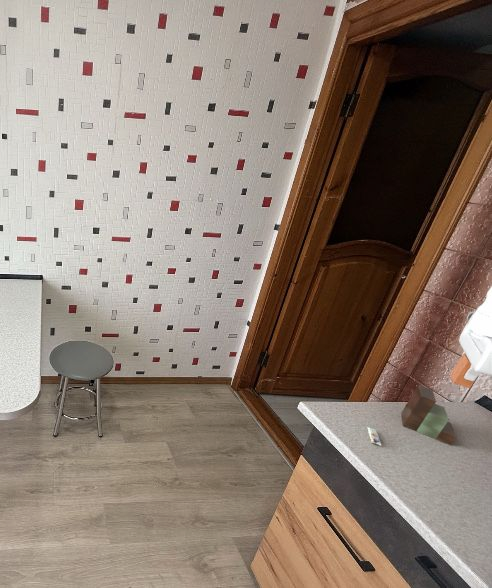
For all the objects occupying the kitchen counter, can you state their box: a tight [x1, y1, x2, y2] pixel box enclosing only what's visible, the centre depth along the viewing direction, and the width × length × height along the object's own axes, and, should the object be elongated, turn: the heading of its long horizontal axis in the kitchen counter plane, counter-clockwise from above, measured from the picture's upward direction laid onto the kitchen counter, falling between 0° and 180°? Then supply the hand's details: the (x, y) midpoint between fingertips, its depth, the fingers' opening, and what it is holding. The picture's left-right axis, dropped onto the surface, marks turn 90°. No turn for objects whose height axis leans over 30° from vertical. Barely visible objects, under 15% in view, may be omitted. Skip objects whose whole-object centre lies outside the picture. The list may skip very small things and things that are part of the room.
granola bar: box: [366, 426, 382, 447], centre depth 91 cm, size 7×2×1 cm, turn 150°
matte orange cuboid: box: [449, 353, 479, 389], centre depth 86 cm, size 3×5×7 cm, turn 141°
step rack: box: [400, 384, 457, 446], centre depth 94 cm, size 10×7×11 cm
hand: (465, 373), depth 86 cm, fingers closed on matte orange cuboid, 5 cm apart
